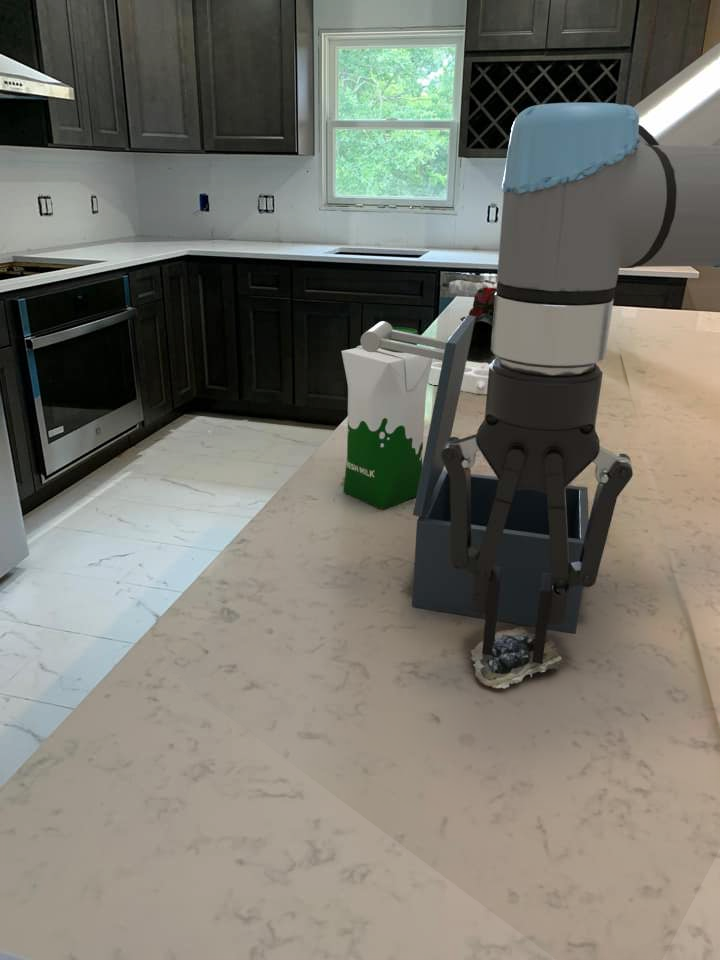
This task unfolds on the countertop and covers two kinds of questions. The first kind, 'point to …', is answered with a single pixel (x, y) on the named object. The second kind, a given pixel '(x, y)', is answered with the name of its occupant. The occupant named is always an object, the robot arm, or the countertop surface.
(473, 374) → the white egg tray
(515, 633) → the blueberries
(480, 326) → the carnation
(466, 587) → the compartment
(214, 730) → the countertop surface
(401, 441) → the milk carton
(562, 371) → the robot arm
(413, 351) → the compartment lid
